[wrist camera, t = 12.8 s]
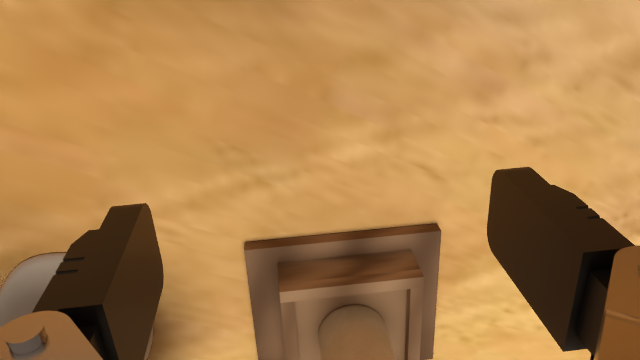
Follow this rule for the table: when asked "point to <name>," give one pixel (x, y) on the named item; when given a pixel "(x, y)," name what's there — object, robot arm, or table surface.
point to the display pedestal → (344, 287)
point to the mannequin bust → (32, 288)
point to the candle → (354, 335)
